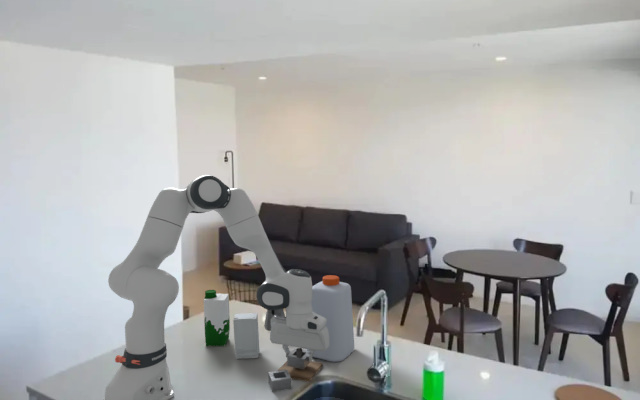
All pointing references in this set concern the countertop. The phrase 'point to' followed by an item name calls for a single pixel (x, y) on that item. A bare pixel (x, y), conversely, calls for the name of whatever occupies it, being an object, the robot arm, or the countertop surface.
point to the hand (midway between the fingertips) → (299, 358)
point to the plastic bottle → (334, 317)
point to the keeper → (302, 373)
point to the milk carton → (216, 318)
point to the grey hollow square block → (298, 359)
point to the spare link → (279, 380)
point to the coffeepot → (271, 314)
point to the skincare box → (246, 335)
